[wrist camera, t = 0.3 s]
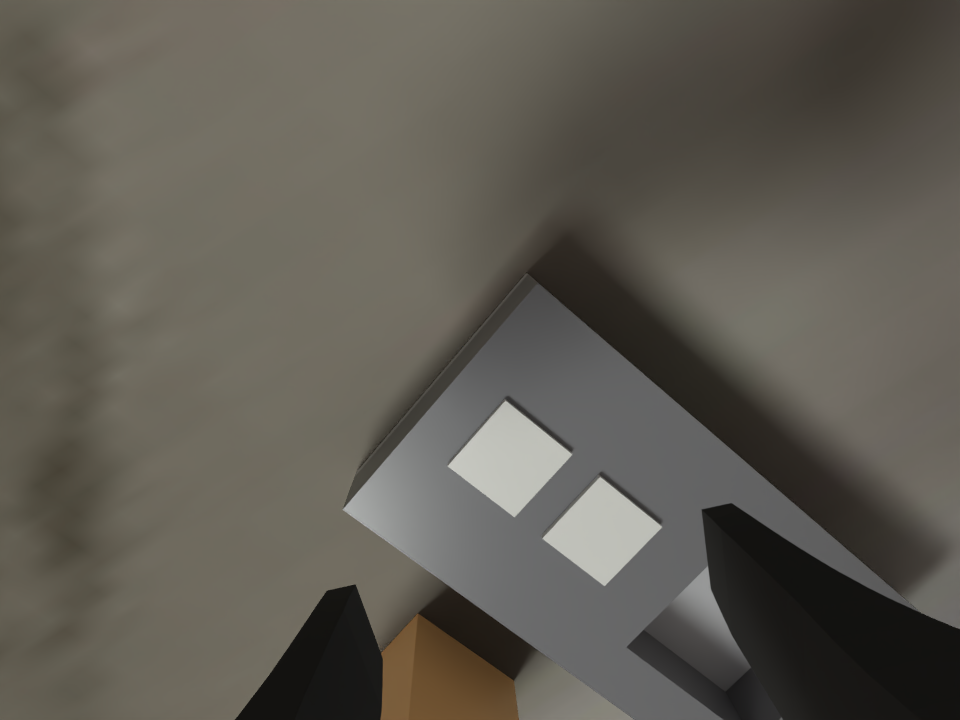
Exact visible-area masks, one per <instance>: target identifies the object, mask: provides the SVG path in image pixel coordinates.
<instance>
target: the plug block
mask: <svg viewBox="0 0 960 720" xmlns="http://www.w3.org/2000/svg"><path fill="white" fill-rule="evenodd" d="M381 655H382V658H383V689H382V712H381V720H519V717H518V710H517V702H516V694H515V686H514V680H512V679H511V678H509V677H508V676H506V675H505V674H504V673H502V672H501V671H499V670H498V669H497V668H495V667H494V666H492V665H491V664H489V663H488V662H487V661H485V660H484V659H482V658H481V657H479V656H478V655H477V654H475V653H474V652H472V651H471V650H469V649H468V648H467V647H465V646H464V645H462V644H461V643H459V642H458V641H457V640H455V639H454V638H452V637H451V636H449V635H448V634H447V633H445V632H444V631H442V630H441V629H439V628H438V627H437V626H435V625H434V624H432V623H431V622H429V621H428V620H427V619H425V618H424V617H422V616H421V615H419V614H417V615H416V616H415V617H414V618H413V619H412V620H411V621H410V622H409V623H408V624H407V626H406V627H405V628H404V629H403V630H402V631H401V632H400V633H399V634H398V635H397V636H396V638H395V639H394V640H393V641H392V642H391V643H390V644H389V645H388V646H387V647H386V648H385V650H384V651H383V652H382V653H381Z"/></svg>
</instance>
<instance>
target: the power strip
mask: <svg viewBox="0 0 960 720" xmlns="http://www.w3.org/2000/svg"><path fill="white" fill-rule="evenodd" d="M729 503H732V504H734V505H735V506H737V507H738V508H740V509H741V510H743V511H744V512H746V513H747V514H749V515H750V516H752V517H753V518H755V519H756V520H758V521H759V522H761V523H762V524H764V525H765V526H767V527H768V528H770V529H771V530H773V531H774V532H776V533H777V534H779V535H780V536H782V537H783V538H785V539H786V540H788V541H789V542H791V543H793V544H794V545H796V546H797V547H799V548H800V549H802V550H804V551H805V552H807V553H809V554H810V555H812V556H813V557H815V558H817V559H818V560H820V561H822V562H823V563H825V564H827V565H828V566H830V567H832V568H833V569H835V570H837V571H839V572H841V573H842V574H844V575H846V576H848V577H850V578H851V579H853V580H855V581H857V582H859V583H861V584H862V585H864V586H866V587H868V588H870V589H872V590H874V591H876V592H878V593H880V594H882V595H884V596H886V597H888V598H890V599H892V600H894V601H896V602H898V603H901V604H903V605H905V606H907V607H909V608H911V609H913V610H916V611H918V610H917V609H916V608H915V607H914V606H913V605H911V604H910V603H909V602H908V601H907V600H906V599H905V598H903V597H902V596H901V595H900V594H899V593H898V592H896V591H895V590H894V589H893V588H892V587H891V586H889V585H888V584H887V583H886V582H885V581H884V580H883V579H881V578H880V577H879V576H878V575H877V574H876V573H874V572H873V571H872V570H871V569H870V568H869V567H867V566H866V565H865V564H864V563H863V562H862V561H860V560H859V559H858V558H857V557H856V556H855V555H854V554H852V553H851V552H850V551H849V550H848V549H847V548H845V547H844V546H843V545H842V544H841V543H840V542H838V541H837V540H836V539H835V538H834V537H833V536H831V535H830V534H829V533H828V532H827V531H826V530H825V529H823V528H822V527H821V526H820V525H819V524H818V523H816V522H815V521H814V520H813V519H812V518H811V517H809V516H808V515H807V514H806V513H805V512H804V511H802V510H801V509H800V508H799V507H798V506H797V505H796V504H794V503H793V502H792V501H791V500H790V499H789V498H787V497H786V496H785V495H784V494H783V493H782V492H780V491H779V490H778V489H777V488H776V487H775V486H773V485H772V484H771V483H770V482H769V481H768V480H767V479H765V478H764V477H763V476H762V475H761V474H760V473H758V472H757V471H756V470H755V469H754V468H753V467H751V466H750V465H749V464H748V463H747V462H746V461H744V460H743V459H742V458H741V457H740V456H739V455H738V454H736V453H735V452H734V451H733V450H732V449H731V448H729V447H728V446H727V445H726V444H725V443H724V442H722V441H721V440H720V439H719V438H718V437H717V436H715V435H714V434H713V433H712V432H711V431H710V430H708V429H707V428H706V427H705V426H704V425H703V424H702V423H700V422H699V421H698V420H697V419H696V418H695V417H693V416H692V415H691V414H690V413H689V412H688V411H686V410H685V409H684V408H683V407H682V406H681V405H679V404H678V403H677V402H676V401H675V400H674V399H673V398H671V397H670V396H669V395H668V394H667V393H666V392H664V391H663V390H662V389H661V388H660V387H659V386H657V385H656V384H655V383H654V382H653V381H652V380H650V379H649V378H648V377H647V376H646V375H645V374H644V373H642V372H641V371H640V370H639V369H638V368H637V367H635V366H634V365H633V364H632V363H631V362H630V361H628V360H627V359H626V358H625V357H624V356H623V355H621V354H620V353H619V352H618V351H617V350H616V349H615V348H613V347H612V346H611V345H610V344H609V343H608V342H606V341H605V340H604V339H603V338H602V337H601V336H599V335H598V334H597V333H596V332H595V331H594V330H592V329H591V328H590V327H589V326H588V325H587V324H586V323H584V322H583V321H582V320H581V319H580V318H579V317H577V316H576V315H575V314H574V313H573V312H572V311H570V310H569V309H568V308H567V307H566V306H565V305H563V304H562V303H561V302H560V301H559V300H558V299H556V298H555V297H554V296H553V295H552V294H551V293H550V292H548V291H547V290H546V289H545V288H544V287H543V286H541V285H540V284H539V283H538V282H537V281H536V280H534V279H533V278H532V277H531V276H530V275H529V274H527V273H526V274H525V275H524V276H523V277H522V279H521V280H520V281H519V282H518V283H517V284H516V286H515V287H514V288H513V289H512V290H511V291H510V293H509V294H508V295H507V296H506V297H505V298H504V300H503V301H502V302H501V303H500V304H499V305H498V307H497V308H496V309H495V310H494V311H493V312H492V314H491V315H490V316H489V317H488V318H487V319H486V321H485V322H484V323H483V324H482V325H481V327H480V328H479V329H478V330H477V331H476V332H475V334H474V335H473V336H472V337H471V338H470V339H469V341H468V342H467V343H466V344H465V345H464V346H463V348H462V349H461V350H460V351H459V352H458V353H457V355H456V356H455V357H454V358H453V359H452V360H451V362H450V363H449V364H448V365H447V366H446V367H445V369H444V370H443V371H442V372H441V373H440V375H439V376H438V377H437V378H436V379H435V380H434V382H433V383H432V384H431V385H430V386H429V387H428V389H427V390H426V391H425V392H424V393H423V394H422V396H421V397H420V398H419V399H418V400H417V401H416V403H415V404H414V405H413V406H412V407H411V408H410V410H409V411H408V412H407V413H406V414H405V415H404V417H403V418H402V419H401V420H400V421H399V423H398V424H397V425H396V426H395V427H394V428H393V430H392V431H391V432H390V433H389V434H388V435H387V437H386V438H385V439H384V440H383V441H382V442H381V444H380V445H379V446H378V447H377V448H376V449H375V451H374V452H373V453H372V454H371V455H370V456H369V458H368V459H367V460H366V461H365V462H364V463H363V465H362V466H361V467H360V468H359V469H358V471H357V472H356V475H355V477H354V480H353V483H352V486H351V488H350V491H349V494H348V496H347V499H346V502H345V505H344V507H343V510H344V511H345V512H347V513H348V514H349V515H351V516H352V517H354V518H355V519H356V520H358V521H359V522H361V523H362V524H363V525H365V526H366V527H368V528H369V529H370V530H372V531H373V532H374V533H376V534H377V535H379V536H380V537H381V538H383V539H384V540H386V541H387V542H388V543H390V544H391V545H393V546H394V547H395V548H397V549H398V550H400V551H401V552H402V553H404V554H405V555H406V556H408V557H409V558H411V559H412V560H413V561H415V562H416V563H418V564H419V565H420V566H422V567H423V568H425V569H426V570H427V571H429V572H430V573H431V574H433V575H434V576H436V577H437V578H438V579H440V580H441V581H443V582H444V583H445V584H447V585H448V586H450V587H451V588H452V589H454V590H455V591H456V592H458V593H459V594H461V595H462V596H463V597H465V598H466V599H468V600H469V601H470V602H472V603H473V604H475V605H476V606H477V607H479V608H480V609H482V610H483V611H484V612H486V613H487V614H488V615H490V616H491V617H493V618H494V619H495V620H497V621H498V622H500V623H501V624H502V625H504V626H505V627H507V628H508V629H509V630H511V631H512V632H513V633H515V634H516V635H518V636H519V637H520V638H522V639H523V640H525V641H526V642H527V643H529V644H530V645H532V646H533V647H534V648H536V649H537V650H539V651H540V652H541V653H543V654H544V655H545V656H547V657H548V658H550V659H551V660H552V661H554V662H555V663H557V664H558V665H559V666H561V667H562V668H564V669H565V670H566V671H568V672H569V673H570V674H572V675H573V676H575V677H576V678H577V679H579V680H580V681H582V682H583V683H584V684H586V685H587V686H589V687H590V688H591V689H593V690H594V691H595V692H597V693H598V694H600V695H601V696H602V697H604V698H605V699H607V700H608V701H609V702H611V703H612V704H614V705H615V706H616V707H618V708H619V709H621V710H622V711H623V712H625V713H626V714H627V715H629V716H630V717H632V718H633V719H634V720H783V719H782V717H781V716H780V714H779V712H778V711H777V709H776V707H775V706H774V704H773V702H772V701H771V699H770V698H769V696H768V694H767V693H766V691H765V689H764V688H763V686H762V685H761V683H760V681H759V680H758V678H757V676H756V675H755V673H754V671H753V670H752V668H751V667H750V665H749V663H748V662H747V660H746V658H745V657H744V655H743V653H742V652H741V650H740V648H739V647H738V645H737V643H736V642H735V640H734V638H733V637H732V635H731V632H730V630H729V628H728V626H727V624H726V622H725V620H724V618H723V615H722V613H721V611H720V609H719V607H718V604H717V602H716V600H715V598H714V595H713V593H712V591H711V587H710V578H709V570H708V561H707V553H706V544H705V536H704V527H703V519H702V510H701V509H706V508H710V507H715V506H720V505H724V504H729ZM918 612H919V611H918ZM920 613H921V612H920Z"/></svg>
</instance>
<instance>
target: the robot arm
mask: <svg viewBox="0 0 960 720" xmlns="http://www.w3.org/2000/svg"><path fill="white" fill-rule="evenodd" d="M701 510H702V519H703V527H704V536H705V544H706V553H707V561H708V570H709V578H710V587H711V591H712V593H713V595H714V598H715V600H716V602H717V604H718V607H719V609H720V611H721V613H722V615H723V618H724V620H725V622H726V624H727V626H728V628H729V630H730V632H731V635H732V637H733V638H734V640H735V642H736V643H737V645H738V647H739V648H740V650H741V652H742V653H743V655H744V657H745V658H746V660H747V662H748V663H749V665H750V667H751V668H752V670H753V671H754V673H755V675H756V676H757V678H758V680H759V681H760V683H761V685H762V686H763V688H764V689H765V691H766V693H767V694H768V696H769V698H770V699H771V701H772V702H773V704H774V706H775V707H776V709H777V711H778V712H779V714H780V716H781V717H782V719H783V720H960V629H958V628H955V627H952V626H950V625H948V624H945V623H943V622H940V621H938V620H936V619H933V618H931V617H929V616H926V615H924V614H922V613H920V612H918V611H916V610H913V609H911V608H909V607H907V606H905V605H903V604H901V603H898V602H896V601H894V600H892V599H890V598H888V597H886V596H884V595H882V594H880V593H878V592H876V591H874V590H872V589H870V588H868V587H866V586H864V585H862V584H861V583H859V582H857V581H855V580H853V579H851V578H850V577H848V576H846V575H844V574H842V573H841V572H839V571H837V570H835V569H833V568H832V567H830V566H828V565H827V564H825V563H823V562H822V561H820V560H818V559H817V558H815V557H813V556H812V555H810V554H809V553H807V552H805V551H804V550H802V549H800V548H799V547H797V546H796V545H794V544H793V543H791V542H789V541H788V540H786V539H785V538H783V537H782V536H780V535H779V534H777V533H776V532H774V531H773V530H771V529H770V528H768V527H767V526H765V525H764V524H762V523H761V522H759V521H758V520H756V519H755V518H753V517H752V516H750V515H749V514H747V513H746V512H744V511H743V510H741V509H740V508H738V507H737V506H735V505H734V504H732V503H729V504H724V505H720V506H715V507H710V508H706V509H701ZM382 689H383V658H382V655H381V653H380V650H379V647H378V644H377V642H376V639H375V636H374V633H373V631H372V628H371V625H370V623H369V620H368V617H367V614H366V612H365V609H364V606H363V603H362V601H361V598H360V595H359V593H358V590H357V587H356V585H351V586H347V587H342V588H337V589H333V590H328V591H327V592H326V593H325V594H324V596H323V597H322V599H321V600H320V602H319V603H318V605H317V606H316V607H315V609H314V610H313V612H312V613H311V615H310V616H309V618H308V619H307V621H306V622H305V624H304V625H303V627H302V628H301V630H300V631H299V633H298V634H297V636H296V637H295V639H294V640H293V642H292V643H291V645H290V646H289V648H288V649H287V650H286V652H285V653H284V655H283V656H282V658H281V659H280V660H279V662H278V663H277V665H276V666H275V668H274V669H273V670H272V672H271V673H270V675H269V676H268V677H267V679H266V680H265V681H264V683H263V684H262V685H261V687H260V688H259V689H258V691H257V692H256V693H255V694H254V696H253V697H252V698H251V700H250V701H249V702H248V704H247V705H246V706H245V708H244V709H243V710H242V712H241V713H240V714H239V715H238V717H237V718H236V719H235V720H381V712H382Z"/></svg>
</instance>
